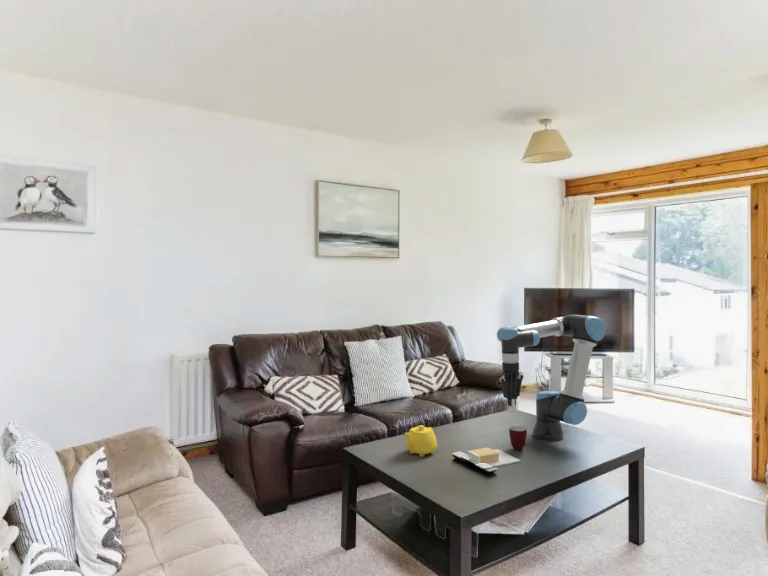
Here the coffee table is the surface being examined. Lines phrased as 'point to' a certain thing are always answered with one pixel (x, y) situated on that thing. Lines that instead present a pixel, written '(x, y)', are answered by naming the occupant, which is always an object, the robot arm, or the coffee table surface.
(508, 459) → the mat
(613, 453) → the coffee table surface
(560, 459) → the coffee table surface
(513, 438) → the mug
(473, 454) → the slab
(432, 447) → the teapot
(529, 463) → the coffee table surface
